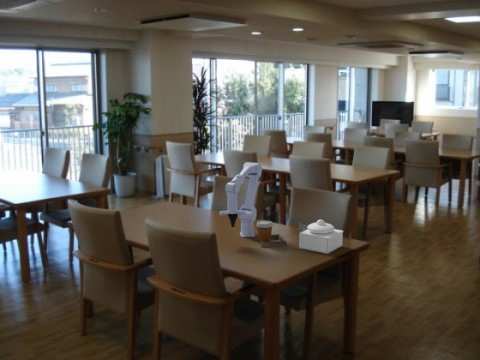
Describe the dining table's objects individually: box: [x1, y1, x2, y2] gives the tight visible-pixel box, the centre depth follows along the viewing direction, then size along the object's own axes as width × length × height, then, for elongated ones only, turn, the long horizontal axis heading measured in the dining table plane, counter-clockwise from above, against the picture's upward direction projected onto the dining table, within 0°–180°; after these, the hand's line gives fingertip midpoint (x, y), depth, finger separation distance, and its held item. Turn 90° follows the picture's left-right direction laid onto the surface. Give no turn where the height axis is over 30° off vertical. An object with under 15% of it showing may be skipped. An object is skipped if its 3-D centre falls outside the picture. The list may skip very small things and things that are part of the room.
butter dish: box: [298, 219, 344, 255], centre depth 303 cm, size 18×18×16 cm
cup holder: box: [255, 233, 287, 248], centre depth 314 cm, size 15×14×2 cm
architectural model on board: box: [297, 222, 310, 236], centre depth 325 cm, size 11×3×10 cm, turn 40°
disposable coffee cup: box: [255, 220, 274, 245], centre depth 312 cm, size 10×10×12 cm
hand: (232, 226), depth 312 cm, fingers closed
